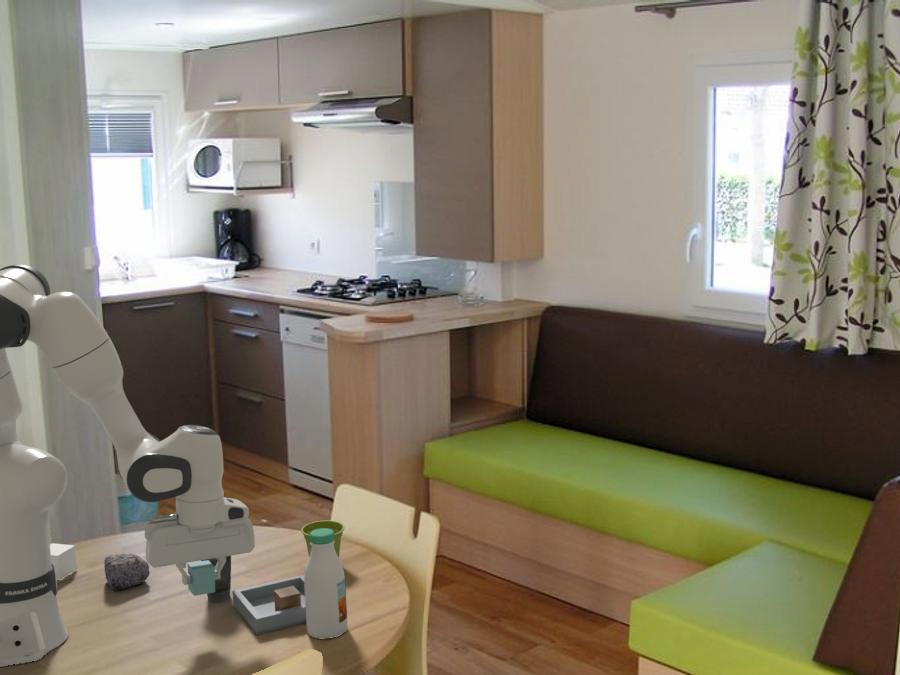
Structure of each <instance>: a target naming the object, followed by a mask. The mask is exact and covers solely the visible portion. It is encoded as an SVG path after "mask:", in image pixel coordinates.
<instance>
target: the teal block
mask: <svg viewBox="0 0 900 675" xmlns="http://www.w3.org/2000/svg"><path fill="white" fill-rule="evenodd" d="M187 573H190V574H191V575H192V584H188V587H187V588H188V590H189V591H190V592H191V594H192V595H193V596H194V597H195V596H202V595H207V594H208V593H213V592H215V567H214V566H213V564H212V563H211V562H210V561H209V560H207V561H201V560H200V561H194V562H187Z"/></svg>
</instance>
